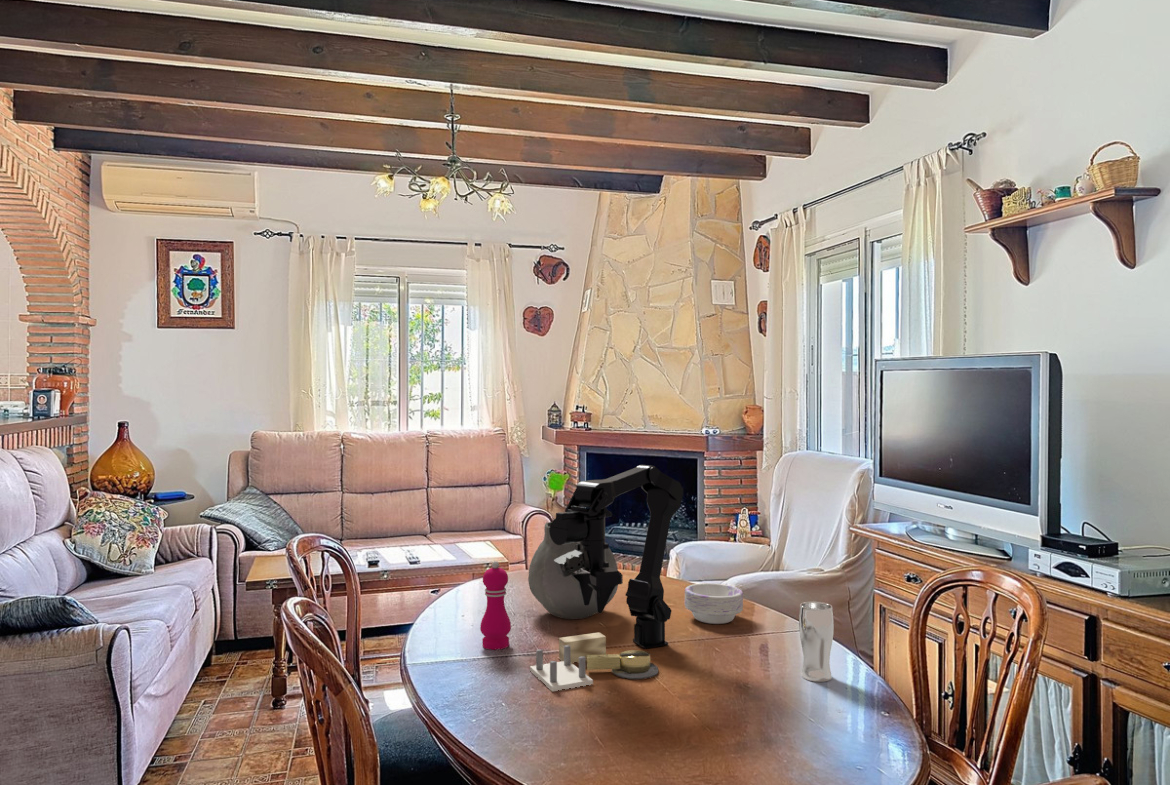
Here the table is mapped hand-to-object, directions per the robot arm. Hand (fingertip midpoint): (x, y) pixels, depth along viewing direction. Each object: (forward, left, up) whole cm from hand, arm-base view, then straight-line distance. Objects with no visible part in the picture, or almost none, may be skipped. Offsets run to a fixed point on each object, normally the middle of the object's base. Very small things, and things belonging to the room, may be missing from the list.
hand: (592, 609), depth 176 cm
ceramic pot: (-11, -37, -12) cm, 40 cm away
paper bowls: (-43, -18, -12) cm, 48 cm away
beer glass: (-39, +27, -12) cm, 49 cm away
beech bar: (+1, -4, -12) cm, 13 cm away
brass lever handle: (-3, +7, -11) cm, 13 cm away
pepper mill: (+16, -21, -12) cm, 29 cm away
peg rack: (+10, +5, -12) cm, 16 cm away
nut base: (-6, +8, -12) cm, 16 cm away
